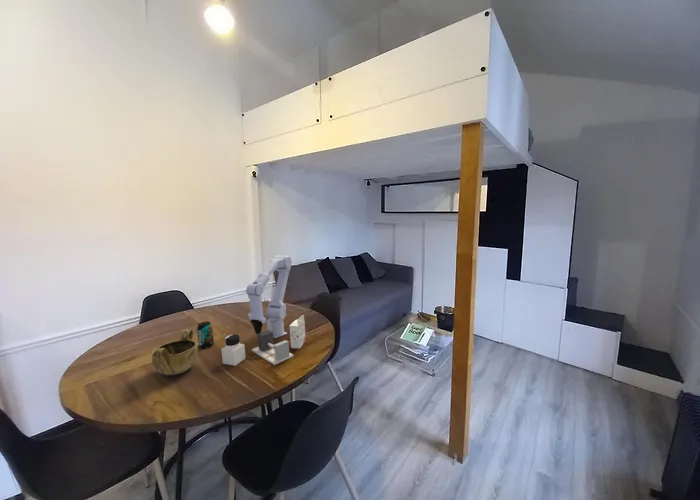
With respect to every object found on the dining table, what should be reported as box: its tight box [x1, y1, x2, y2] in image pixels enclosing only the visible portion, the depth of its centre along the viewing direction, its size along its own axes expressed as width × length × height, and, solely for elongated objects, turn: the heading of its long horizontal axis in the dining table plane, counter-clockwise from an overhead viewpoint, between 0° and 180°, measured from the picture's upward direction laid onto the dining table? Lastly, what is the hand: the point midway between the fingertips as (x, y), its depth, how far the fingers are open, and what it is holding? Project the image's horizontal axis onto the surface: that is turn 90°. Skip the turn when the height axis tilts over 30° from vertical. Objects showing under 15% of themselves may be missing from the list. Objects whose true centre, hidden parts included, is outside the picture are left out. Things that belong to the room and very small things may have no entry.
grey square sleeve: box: [257, 330, 275, 351], centre depth 139 cm, size 4×6×8 cm, turn 136°
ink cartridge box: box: [289, 314, 307, 349], centre depth 144 cm, size 9×5×15 cm, turn 168°
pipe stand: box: [251, 339, 294, 366], centre depth 136 cm, size 20×10×8 cm, turn 46°
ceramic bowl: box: [151, 329, 199, 376], centre depth 123 cm, size 22×17×15 cm
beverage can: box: [196, 321, 215, 349], centre depth 147 cm, size 7×7×12 cm
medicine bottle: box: [221, 333, 247, 367], centre depth 130 cm, size 7×7×12 cm
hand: (258, 333), depth 144 cm, fingers closed
